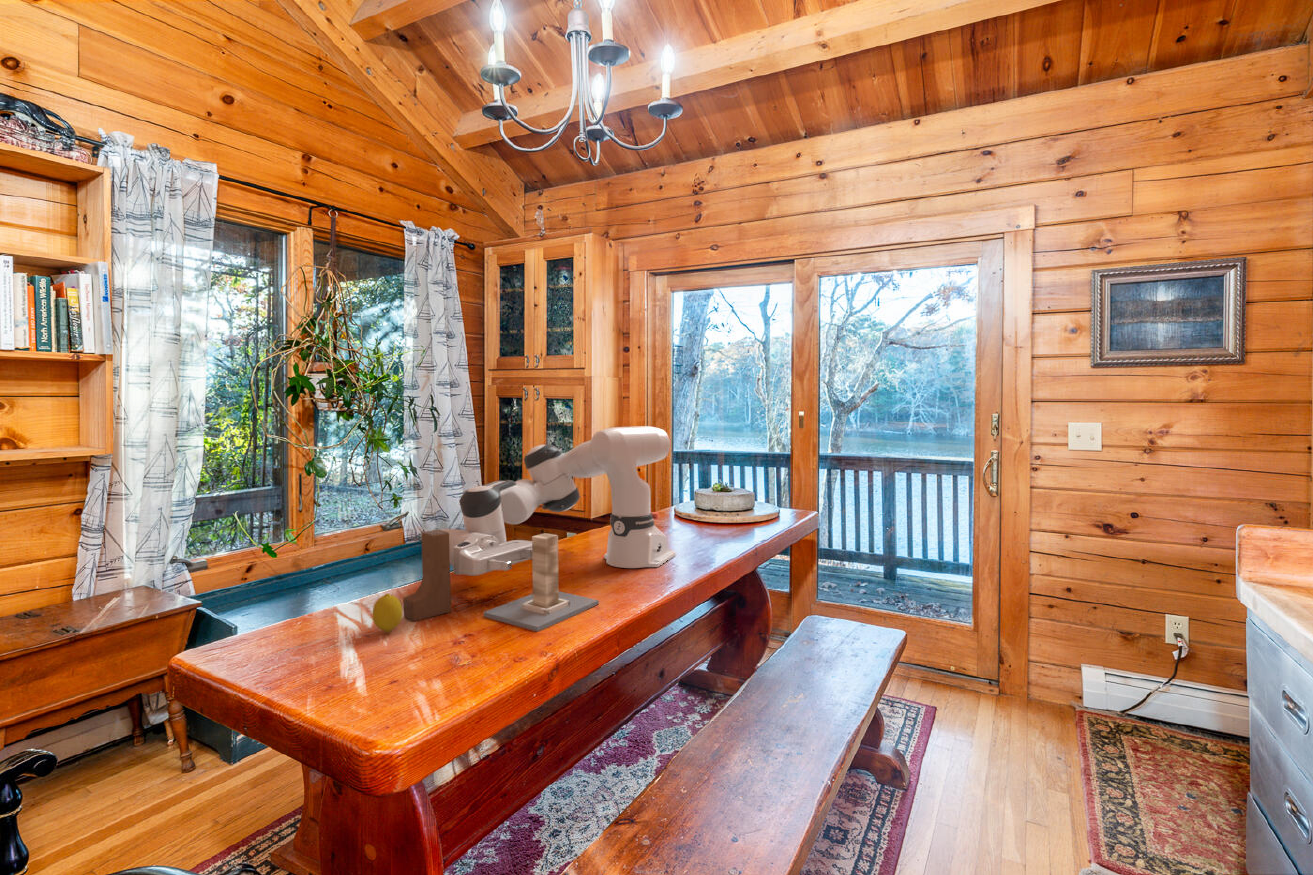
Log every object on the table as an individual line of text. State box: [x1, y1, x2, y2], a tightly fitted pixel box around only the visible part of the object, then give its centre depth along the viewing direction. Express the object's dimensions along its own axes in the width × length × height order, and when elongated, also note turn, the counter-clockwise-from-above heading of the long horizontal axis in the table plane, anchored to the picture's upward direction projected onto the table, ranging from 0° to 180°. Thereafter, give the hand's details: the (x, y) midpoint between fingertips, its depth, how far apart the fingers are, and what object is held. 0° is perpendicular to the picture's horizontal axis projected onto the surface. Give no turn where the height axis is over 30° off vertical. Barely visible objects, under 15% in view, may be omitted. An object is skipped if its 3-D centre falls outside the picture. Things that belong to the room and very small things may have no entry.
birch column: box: [531, 532, 560, 609], centre depth 142 cm, size 4×4×16 cm
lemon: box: [372, 593, 403, 634], centre depth 129 cm, size 6×6×8 cm
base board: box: [482, 591, 600, 633], centre depth 143 cm, size 20×16×2 cm
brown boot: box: [402, 529, 452, 623], centre depth 139 cm, size 9×4×18 cm, turn 137°
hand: (524, 561), depth 144 cm, fingers open, 8 cm apart
